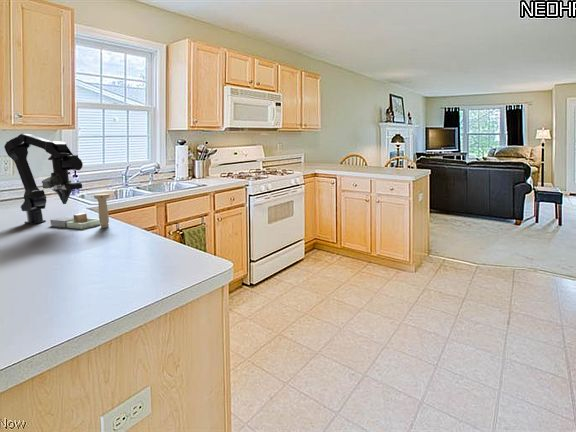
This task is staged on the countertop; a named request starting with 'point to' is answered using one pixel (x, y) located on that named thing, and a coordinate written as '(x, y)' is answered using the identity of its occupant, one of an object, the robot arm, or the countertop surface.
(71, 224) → the tray
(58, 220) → the slate platform
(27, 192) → the robot arm
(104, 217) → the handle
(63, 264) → the countertop surface
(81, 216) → the tan block
